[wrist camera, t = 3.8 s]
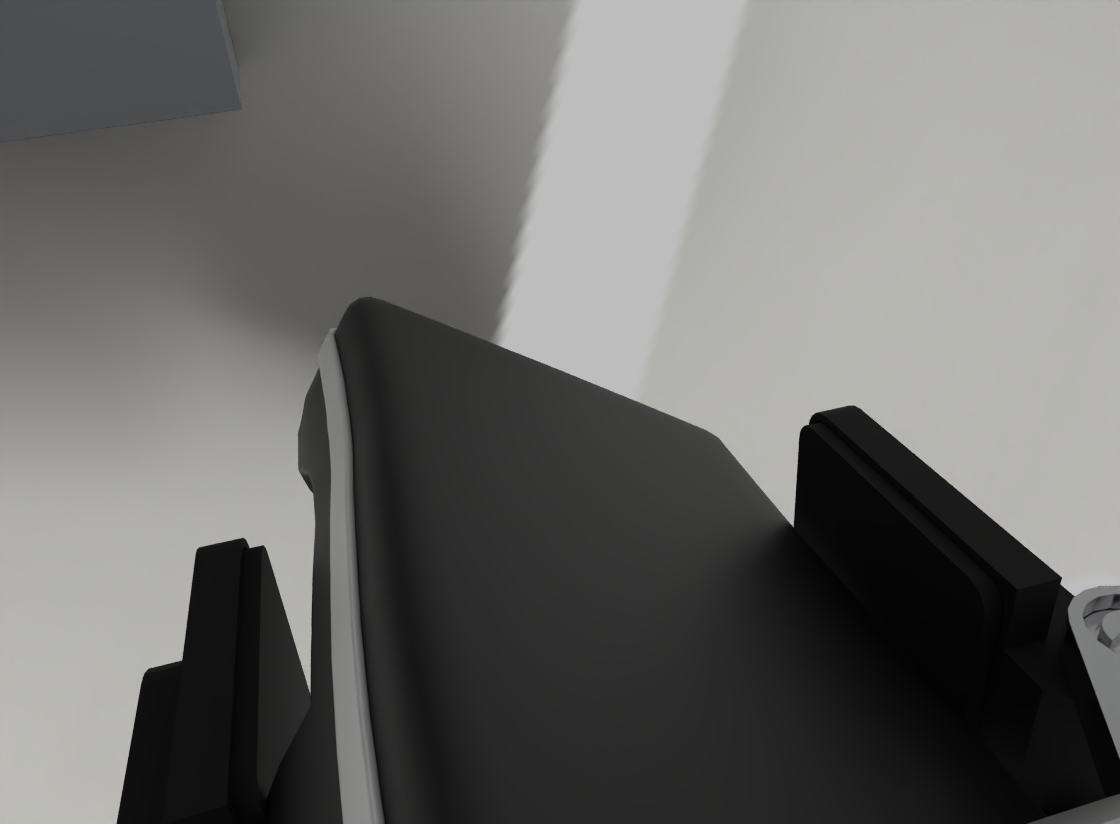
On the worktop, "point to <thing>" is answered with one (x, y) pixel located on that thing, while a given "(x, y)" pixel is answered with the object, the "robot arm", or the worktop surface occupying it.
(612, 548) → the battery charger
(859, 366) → the worktop surface
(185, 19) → the dock
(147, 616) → the worktop surface
